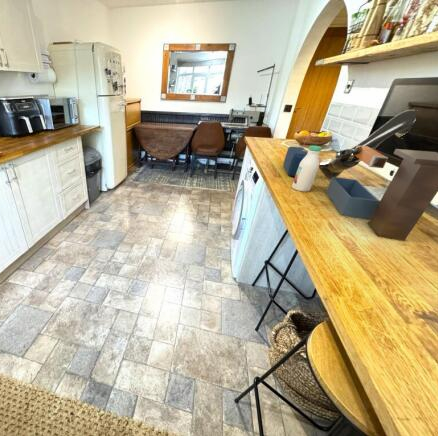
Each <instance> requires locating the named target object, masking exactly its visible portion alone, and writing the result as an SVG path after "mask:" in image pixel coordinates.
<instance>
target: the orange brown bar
mask: <svg viewBox="0 0 438 436" xmlns="http://www.w3.org/2000/svg"><path fill="white" fill-rule="evenodd" d="M356 145H357V144H356ZM356 145H355V146H356ZM358 147H362V149H361V152H360V153H358V154H356V155H355V156H356V157H358V158H359V159H360V160H362V161H361V162H363V163H364V164H366V165H367V166H368V167H370V168H377V169H384V167H385V165H386V163H387V161H388V159H389V157H388V156H386V155H384V154H382V153H380V152H379V151H377V150H376V151H375V150H373V149H371V148H370V147H368V146H358V145H357V146H356V148H358ZM356 148H355V149H356Z"/></svg>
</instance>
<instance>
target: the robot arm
mask: <svg viewBox="0 0 438 436" xmlns="http://www.w3.org/2000/svg"><path fill="white" fill-rule="evenodd" d="M415 110H416V109H407V110H405V111H402V112H400V113H398V114H397V115H395V116H393V117H392V118H390V119H389V120H388V121H387V122H386V123H385V124H383V125H382V126H380V127H379V128H378V129H377V130H375V131H374V132H373V133H372V134H370V135H369V136H367V137H366V138H365V139H364V140H362V141H360V142H359V143H357V144H356V145H354V146H352V147H350V148H346V149H342V150H339V151H336V152H335V157H334V158H333V157H331V158H326V159H324V160H322V161H321V162H319V167H318V170H320V172H321V173H322V174H323V176H324V177H325V178H326V179H327V180H331V179H332V177H337V178H338V177H339V176H340V175H341V174H342V173H343V172H344V171H346V170H347V171H348V170H350V169H351V168H353V167H356V166H357V165H358V164H359V163H360V162H363V161H362V160H360V159H359V158H358V157H356V156H355V155H356V154H358V153H360V152H361V149H362V147H358V148H356V146H357V145H358V146H368V147H370V148H371V149H373V150H375V151H377V150H376V148H377V147H378V146H379V145H380V144H382V143H383V142H384V141H385V140H387V139H388V138H390V137H391V136H393V135H395V136H396V137H398V138H400V137H401V136H403V135H405V134H406V133H408V131H410V129H411V128H412V126H413V125H414V124H415V121H416V112H415ZM355 148H356V149H355Z"/></svg>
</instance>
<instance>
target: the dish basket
mask: <svg viewBox="0 0 438 436" xmlns="http://www.w3.org/2000/svg"><path fill="white" fill-rule="evenodd" d="M325 193H326V195H327V196H328V198H329V200H330V201H331V202H332V204H333V205H334V207H335V208H336V209H337V211H338V212H339V214H340V215H341V216H345V217H352V218H356V219H357V218H359V219H365V220H370V218H371V216H372V215H373V213H374V211H375V209H376V208H377V206H378V204H379V202H380V200H379V198H377V197H376V196H375V195H374V194H373V193H372V192H371V191H370V190H369V189H368V188H366V186H364V185H363V183H361V182H360V181H359V180H358V179H353V178H347V177H338V176H337V177H332V179H330V182H329V184H328V186H327V189H326V192H325Z"/></svg>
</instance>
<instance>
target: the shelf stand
mask: <svg viewBox="0 0 438 436" xmlns="http://www.w3.org/2000/svg"><path fill="white" fill-rule="evenodd" d="M393 155H396V156H398V158H402V160H401V163H400V164H399V167H398V168H397V169H396V172H395V173H394V175H393V177H392V179H391V181H390V182H389V184H388V186H387V187H386V190H385V191H384V193H383V195H382V197H381V199H380V200H379V201H380V202H379V204H378V206H377V208H376V209H375V211H374V213H373V215H372V216H371V218H370V219H368V222H367V225H368V226H369V227H370V229H371V230H372V231H373V232H374V234H375V235H376V236H377V237H379V238H385V239H390V240H396V241H403V242H404V241H406V240H407V238H408V236H409V235H410V233H411V232H412V231H413V229H414V228H415V226H416V225H417V223H418V222H419V220H420V219H421V217H422V216H423V214H424V213H425V212H426V210H427V208H428V207H429V206H430V204H431V203H432V201H433V199H434V198H435V197H436V195H437V194H438V152H437V151H427V150H413V149H401V148H395V149H394V152H393Z"/></svg>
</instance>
